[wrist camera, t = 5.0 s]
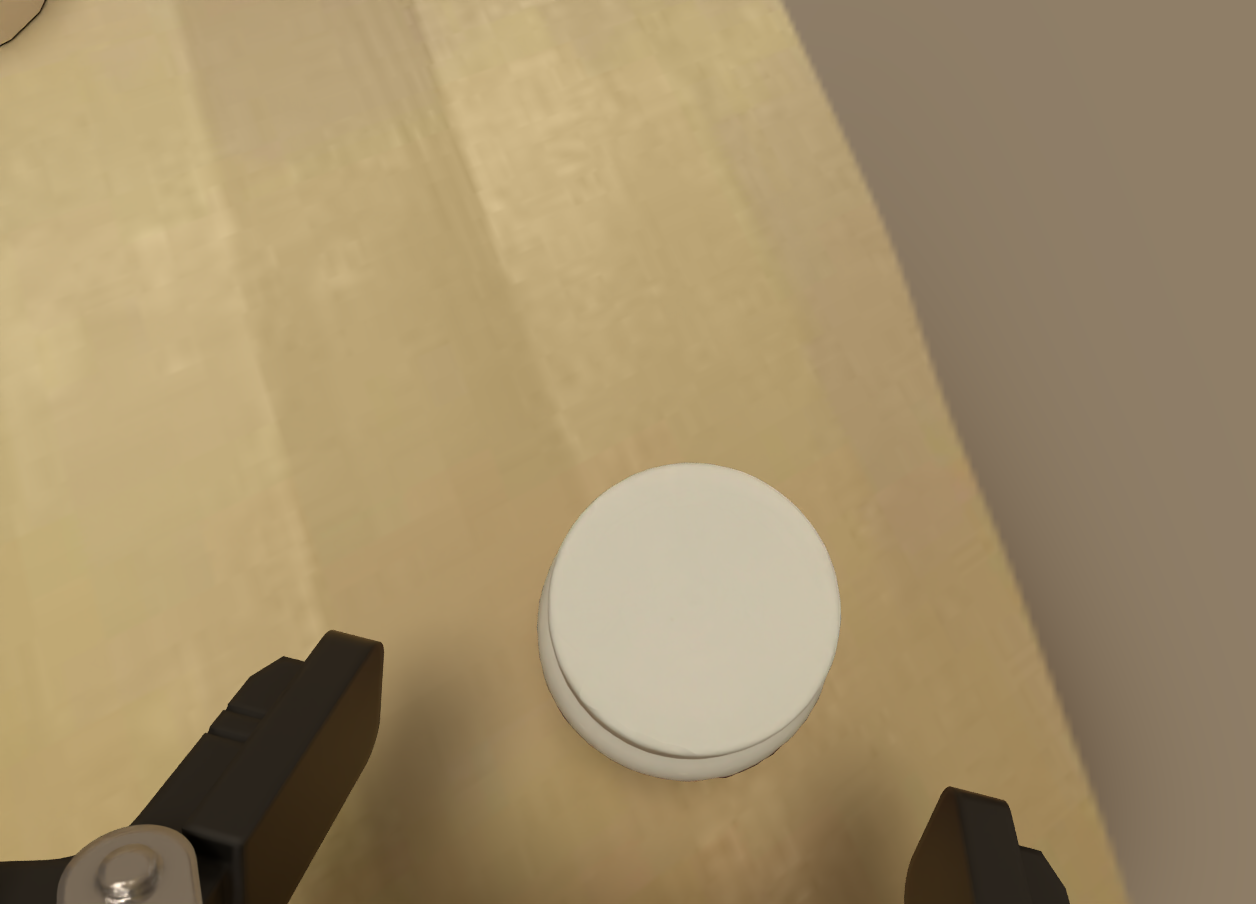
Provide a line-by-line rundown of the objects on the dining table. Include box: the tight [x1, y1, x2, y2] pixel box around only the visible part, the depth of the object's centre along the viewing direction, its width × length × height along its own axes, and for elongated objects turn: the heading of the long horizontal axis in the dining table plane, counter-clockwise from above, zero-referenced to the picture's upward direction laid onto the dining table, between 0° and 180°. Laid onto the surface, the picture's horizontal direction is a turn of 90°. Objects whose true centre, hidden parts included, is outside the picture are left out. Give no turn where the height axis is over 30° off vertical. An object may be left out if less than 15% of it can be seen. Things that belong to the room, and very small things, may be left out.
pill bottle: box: [537, 463, 841, 781], centre depth 17 cm, size 5×5×8 cm
